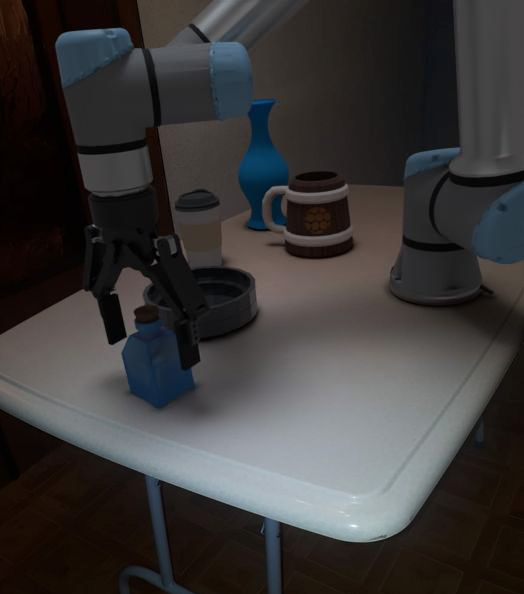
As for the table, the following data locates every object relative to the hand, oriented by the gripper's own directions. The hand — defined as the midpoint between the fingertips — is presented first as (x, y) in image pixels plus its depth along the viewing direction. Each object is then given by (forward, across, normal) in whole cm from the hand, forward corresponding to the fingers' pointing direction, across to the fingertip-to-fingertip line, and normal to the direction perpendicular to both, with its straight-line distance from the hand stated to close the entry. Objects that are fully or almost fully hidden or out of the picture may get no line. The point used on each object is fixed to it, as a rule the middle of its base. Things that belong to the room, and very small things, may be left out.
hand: (152, 352), depth 73 cm
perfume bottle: (+6, 0, 0) cm, 6 cm away
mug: (+6, +12, -57) cm, 59 cm away
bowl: (+6, +10, -20) cm, 23 cm away
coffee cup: (+6, +26, -39) cm, 47 cm away
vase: (+6, +30, -67) cm, 74 cm away
